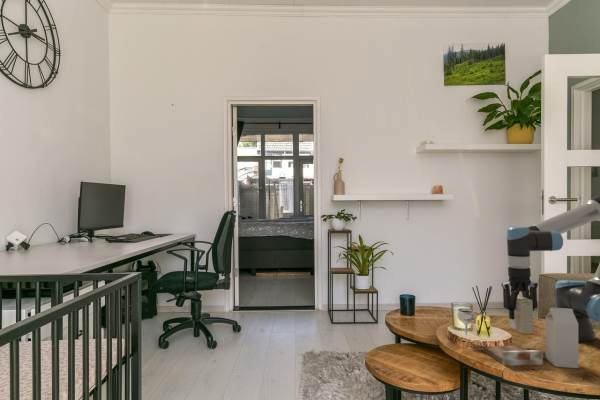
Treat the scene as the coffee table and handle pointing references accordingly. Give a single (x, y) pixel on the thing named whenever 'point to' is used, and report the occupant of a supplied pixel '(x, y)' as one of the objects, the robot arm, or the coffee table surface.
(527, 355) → the grey flat box
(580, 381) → the coffee table surface
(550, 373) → the coffee table surface
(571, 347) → the milk carton
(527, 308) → the supplement box
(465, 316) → the wineglass
